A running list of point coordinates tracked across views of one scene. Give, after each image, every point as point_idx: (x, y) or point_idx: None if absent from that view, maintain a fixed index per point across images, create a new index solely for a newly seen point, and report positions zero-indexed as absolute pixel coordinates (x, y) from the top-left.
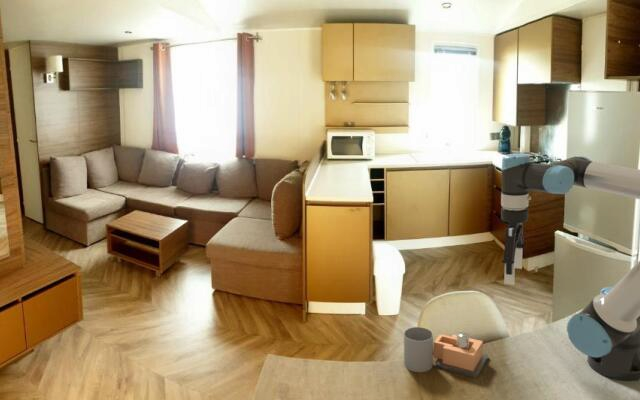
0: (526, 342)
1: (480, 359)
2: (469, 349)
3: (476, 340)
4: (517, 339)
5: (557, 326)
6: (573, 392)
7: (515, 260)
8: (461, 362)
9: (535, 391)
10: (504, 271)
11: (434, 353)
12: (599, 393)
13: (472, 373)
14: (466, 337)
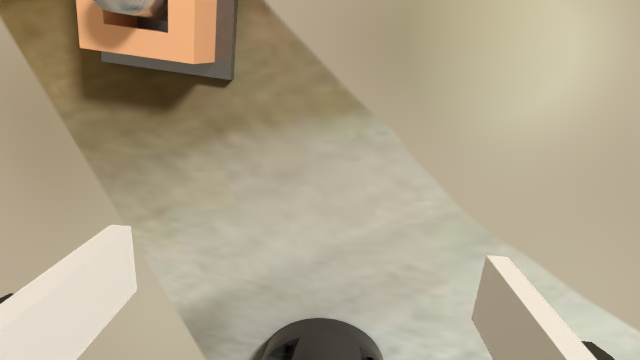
0: (371, 179)
1: None
2: (111, 25)
3: (188, 39)
4: (382, 152)
5: None
6: (169, 285)
7: (513, 322)
8: None
9: (130, 212)
10: (28, 284)
11: None
12: (191, 329)
13: None
14: (99, 3)
